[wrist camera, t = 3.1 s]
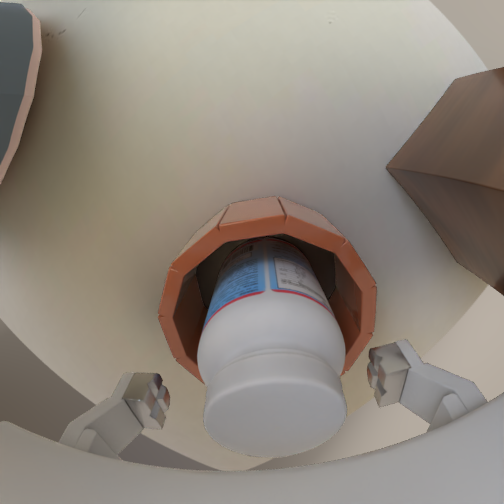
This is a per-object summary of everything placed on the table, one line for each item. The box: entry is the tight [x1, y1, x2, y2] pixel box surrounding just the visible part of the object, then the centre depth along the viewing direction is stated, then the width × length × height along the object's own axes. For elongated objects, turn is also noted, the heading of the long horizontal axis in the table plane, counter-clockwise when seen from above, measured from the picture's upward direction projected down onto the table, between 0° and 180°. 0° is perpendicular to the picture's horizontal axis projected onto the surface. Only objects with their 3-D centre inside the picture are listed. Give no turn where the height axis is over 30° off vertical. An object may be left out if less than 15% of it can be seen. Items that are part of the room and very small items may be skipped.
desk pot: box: [158, 196, 377, 384], centre depth 15 cm, size 11×11×6 cm
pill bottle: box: [197, 238, 347, 457], centre depth 13 cm, size 6×6×11 cm
